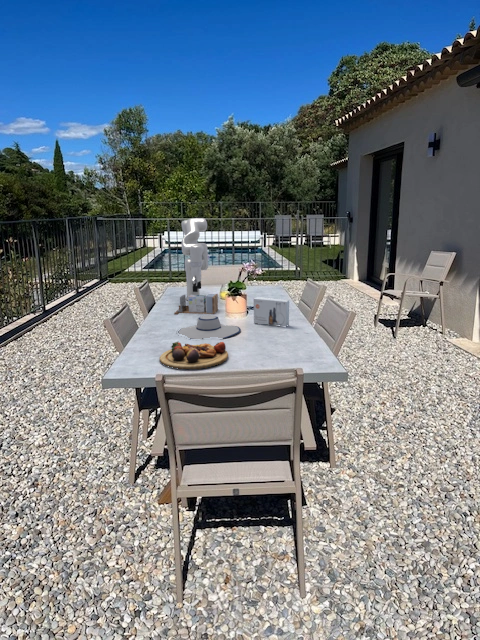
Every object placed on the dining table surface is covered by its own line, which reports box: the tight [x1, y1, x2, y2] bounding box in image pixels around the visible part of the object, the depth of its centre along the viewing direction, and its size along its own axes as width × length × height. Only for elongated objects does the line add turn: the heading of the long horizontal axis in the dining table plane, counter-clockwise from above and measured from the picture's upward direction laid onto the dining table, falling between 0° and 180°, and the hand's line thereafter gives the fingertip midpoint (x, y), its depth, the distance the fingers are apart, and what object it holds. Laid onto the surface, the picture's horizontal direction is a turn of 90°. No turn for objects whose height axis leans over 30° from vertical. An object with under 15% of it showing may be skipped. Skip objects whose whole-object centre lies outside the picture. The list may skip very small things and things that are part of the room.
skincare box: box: [253, 296, 290, 326], centre depth 266 cm, size 21×5×16 cm, turn 64°
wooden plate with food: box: [159, 341, 229, 370], centre depth 209 cm, size 32×32×8 cm
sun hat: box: [177, 314, 242, 340], centre depth 254 cm, size 36×36×9 cm
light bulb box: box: [187, 294, 207, 313], centre depth 297 cm, size 11×7×11 cm, turn 82°
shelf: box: [173, 293, 219, 315], centre depth 298 cm, size 12×27×12 cm, turn 81°
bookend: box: [176, 294, 187, 312], centre depth 299 cm, size 9×4×10 cm, turn 171°
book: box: [206, 293, 216, 313], centre depth 296 cm, size 9×5×11 cm, turn 171°
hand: (197, 290), depth 296 cm, fingers open, 9 cm apart
